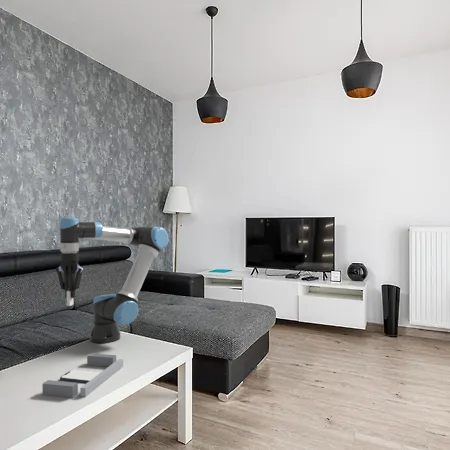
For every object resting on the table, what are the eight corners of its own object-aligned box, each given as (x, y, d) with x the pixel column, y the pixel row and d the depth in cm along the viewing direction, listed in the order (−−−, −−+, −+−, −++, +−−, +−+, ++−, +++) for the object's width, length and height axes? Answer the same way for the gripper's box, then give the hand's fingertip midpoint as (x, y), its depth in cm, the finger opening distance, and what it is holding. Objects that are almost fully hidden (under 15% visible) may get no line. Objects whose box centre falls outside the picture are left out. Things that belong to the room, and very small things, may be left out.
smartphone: (107, 376, 149) (72, 372, 153) (108, 372, 149) (72, 368, 153) (95, 386, 141) (58, 381, 144) (95, 381, 141) (58, 377, 144)
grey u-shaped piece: (91, 362, 163) (91, 353, 163) (124, 365, 159) (124, 355, 159) (42, 394, 132) (42, 383, 132) (83, 398, 129) (82, 387, 129)
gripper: (51, 252, 164) (51, 306, 164) (77, 253, 161) (78, 307, 161) (61, 251, 171) (62, 302, 171) (87, 251, 168) (88, 303, 169)
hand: (70, 305), depth 166 cm, fingers closed
